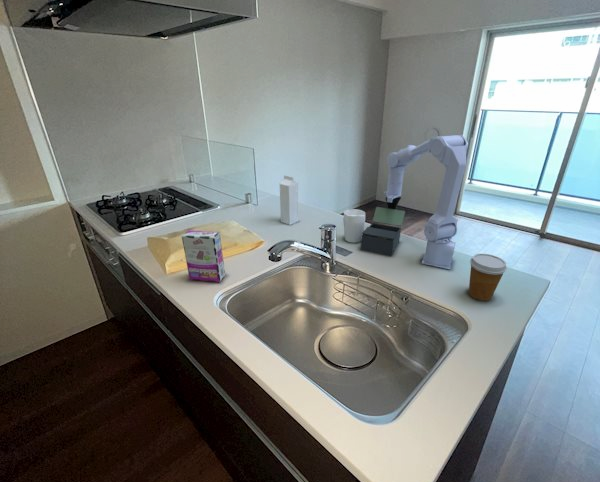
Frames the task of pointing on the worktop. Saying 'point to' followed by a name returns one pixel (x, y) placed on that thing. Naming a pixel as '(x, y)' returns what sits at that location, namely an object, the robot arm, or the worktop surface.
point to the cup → (353, 225)
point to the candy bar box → (204, 255)
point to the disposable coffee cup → (485, 275)
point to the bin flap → (388, 216)
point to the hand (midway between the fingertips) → (391, 213)
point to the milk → (289, 200)
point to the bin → (380, 239)
